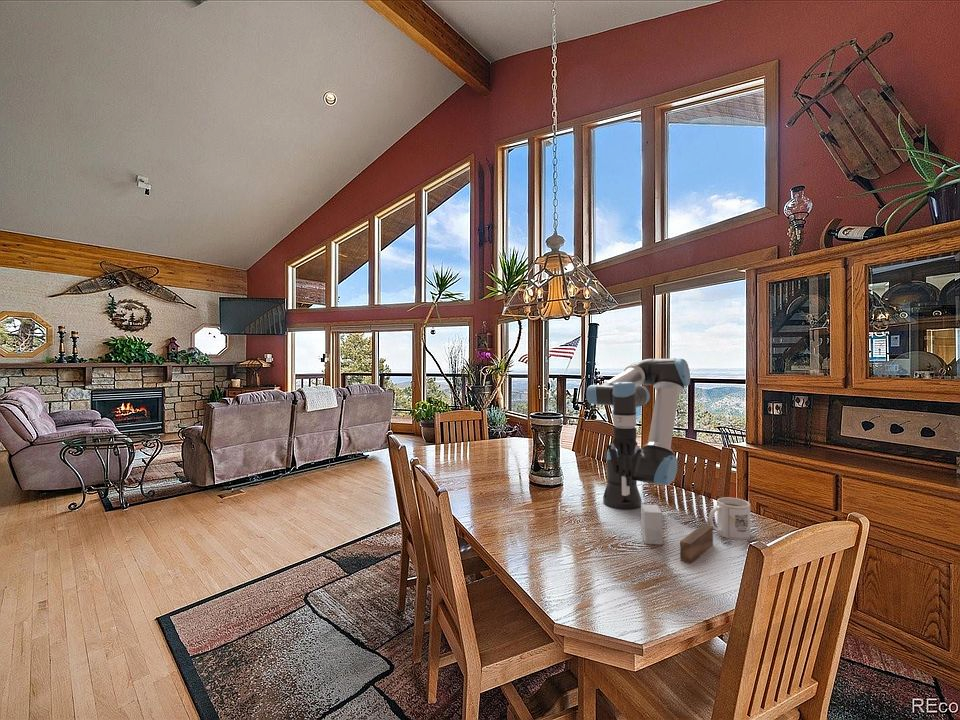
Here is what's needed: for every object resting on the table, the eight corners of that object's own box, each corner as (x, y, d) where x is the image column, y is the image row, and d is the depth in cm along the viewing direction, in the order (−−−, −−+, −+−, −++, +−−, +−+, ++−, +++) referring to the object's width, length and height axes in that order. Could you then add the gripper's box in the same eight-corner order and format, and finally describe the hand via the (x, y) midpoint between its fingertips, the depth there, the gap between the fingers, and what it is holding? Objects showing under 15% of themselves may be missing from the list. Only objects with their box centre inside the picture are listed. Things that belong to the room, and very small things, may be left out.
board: (680, 561, 134) (680, 541, 134) (703, 542, 146) (702, 524, 146) (690, 564, 132) (690, 544, 132) (713, 545, 144) (712, 526, 144)
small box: (663, 545, 145) (662, 512, 145) (645, 544, 146) (644, 512, 146) (658, 535, 153) (658, 504, 153) (641, 534, 154) (640, 503, 154)
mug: (750, 543, 145) (749, 509, 145) (708, 536, 151) (708, 503, 151) (750, 531, 154) (750, 499, 154) (711, 525, 160) (711, 494, 160)
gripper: (602, 426, 158) (603, 493, 158) (637, 430, 148) (638, 501, 148) (613, 423, 163) (614, 488, 163) (647, 427, 153) (648, 496, 154)
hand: (625, 494), depth 156 cm, fingers closed
